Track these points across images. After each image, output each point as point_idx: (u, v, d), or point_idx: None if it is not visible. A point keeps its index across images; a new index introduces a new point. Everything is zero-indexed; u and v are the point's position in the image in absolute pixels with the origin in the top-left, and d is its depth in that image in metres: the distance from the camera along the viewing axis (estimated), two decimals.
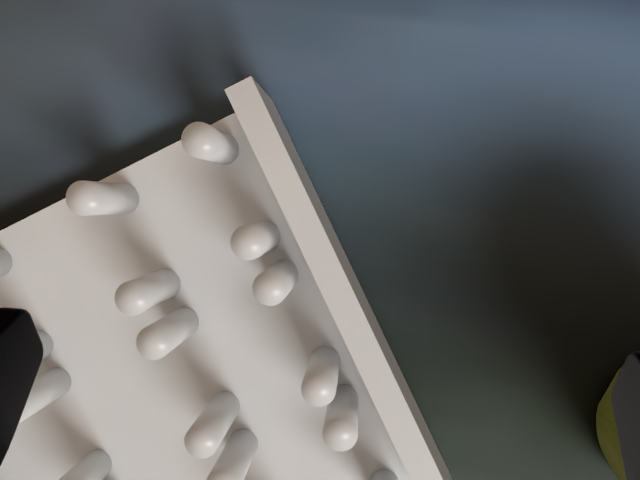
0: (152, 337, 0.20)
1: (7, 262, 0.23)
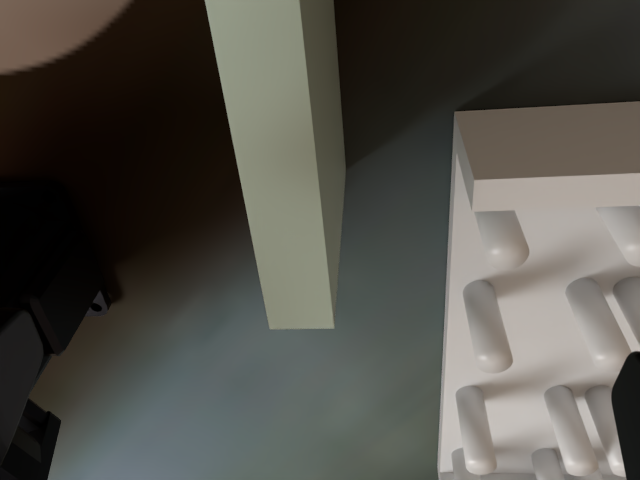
0: None
1: None
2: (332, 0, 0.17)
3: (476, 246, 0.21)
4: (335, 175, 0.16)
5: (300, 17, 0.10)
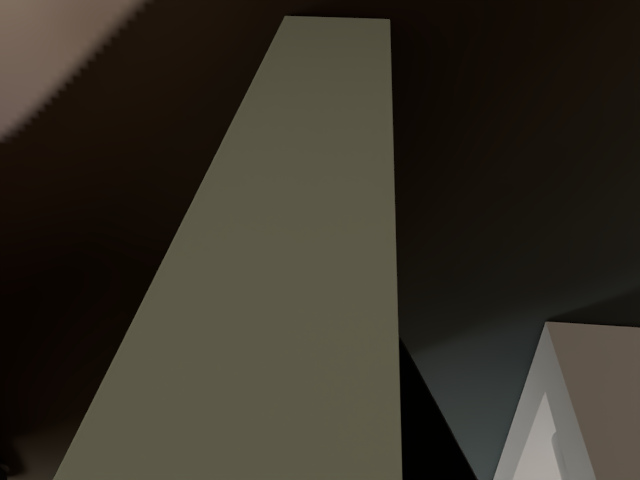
0: None
1: None
2: None
3: None
4: None
5: None
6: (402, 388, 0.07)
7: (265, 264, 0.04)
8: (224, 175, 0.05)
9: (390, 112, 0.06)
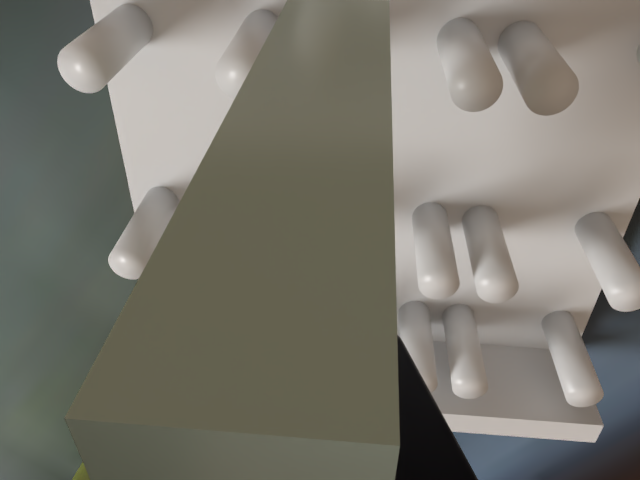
0: (444, 286, 0.17)
1: None
2: None
3: None
4: None
5: None
6: (402, 388, 0.07)
7: (274, 201, 0.04)
8: (235, 131, 0.05)
9: (389, 79, 0.06)
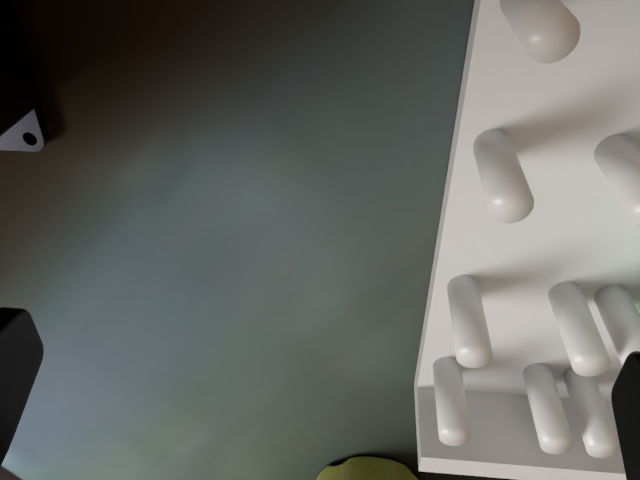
0: None
1: None
2: None
3: (497, 79, 0.17)
4: None
5: None
6: None
7: None
8: None
9: None
